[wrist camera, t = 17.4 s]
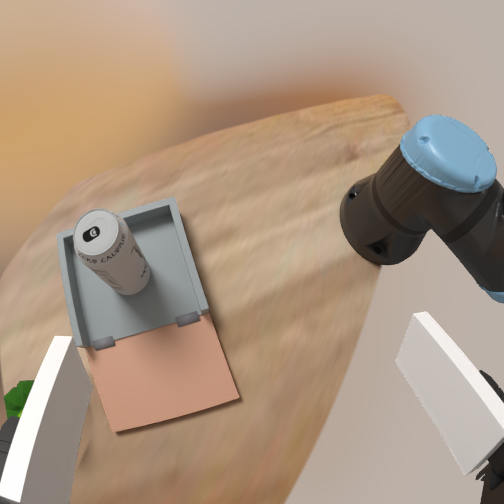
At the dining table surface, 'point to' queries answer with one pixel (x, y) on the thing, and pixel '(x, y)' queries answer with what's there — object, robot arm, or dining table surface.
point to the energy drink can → (111, 251)
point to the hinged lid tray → (148, 327)
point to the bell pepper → (18, 398)
